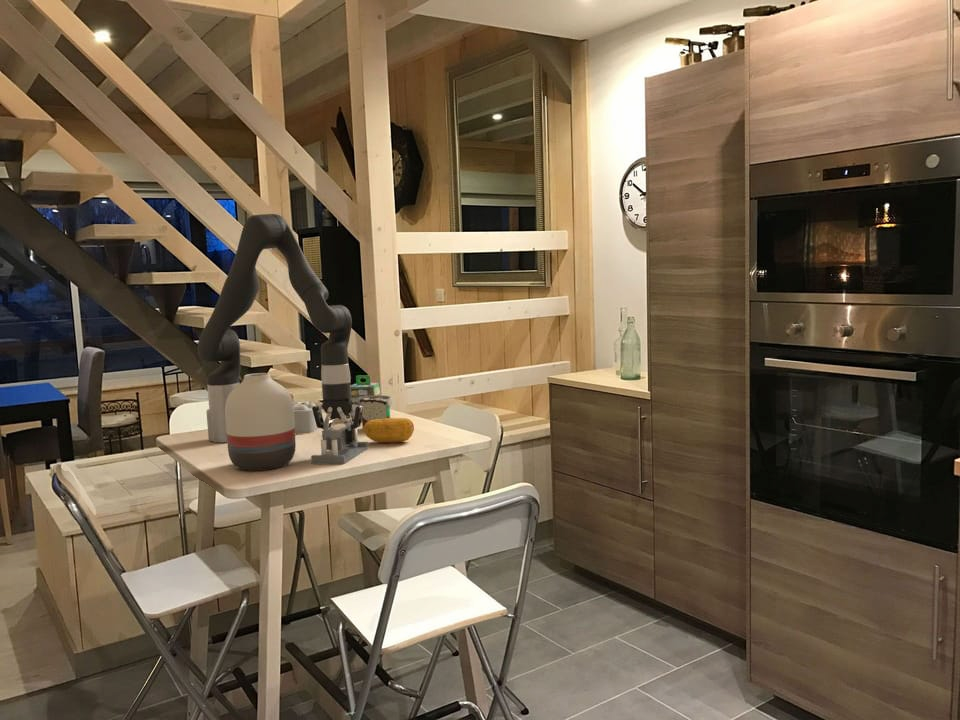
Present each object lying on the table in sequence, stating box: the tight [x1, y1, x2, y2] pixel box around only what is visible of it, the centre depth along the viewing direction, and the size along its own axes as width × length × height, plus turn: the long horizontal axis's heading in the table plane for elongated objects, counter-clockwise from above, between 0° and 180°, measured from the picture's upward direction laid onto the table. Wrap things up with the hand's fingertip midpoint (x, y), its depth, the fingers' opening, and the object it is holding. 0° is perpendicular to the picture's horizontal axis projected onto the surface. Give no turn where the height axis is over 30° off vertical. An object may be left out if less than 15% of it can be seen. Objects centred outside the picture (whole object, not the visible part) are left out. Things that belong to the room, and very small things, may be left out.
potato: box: [363, 417, 415, 444], centre depth 222 cm, size 7×14×7 cm, turn 81°
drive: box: [321, 423, 356, 451], centre depth 207 cm, size 5×10×5 cm, turn 168°
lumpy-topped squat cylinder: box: [293, 400, 319, 434], centre depth 245 cm, size 10×13×9 cm
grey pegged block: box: [310, 428, 369, 465], centre depth 207 cm, size 9×17×6 cm, turn 168°
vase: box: [225, 372, 297, 471], centre depth 199 cm, size 17×17×24 cm
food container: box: [358, 394, 394, 430], centre depth 243 cm, size 12×6×10 cm, turn 58°
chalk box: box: [350, 374, 381, 421], centre depth 261 cm, size 9×9×15 cm
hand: (339, 443), depth 207 cm, fingers closed on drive, 5 cm apart
